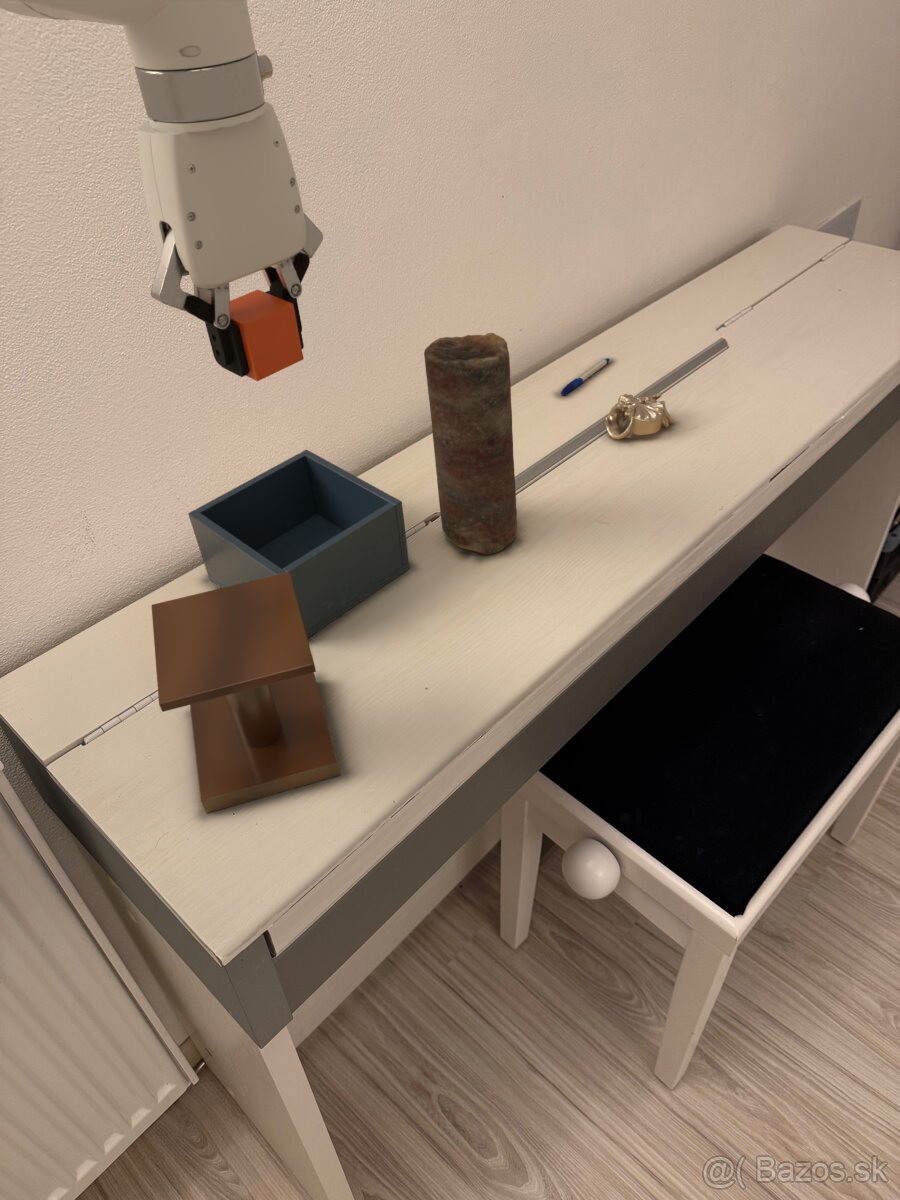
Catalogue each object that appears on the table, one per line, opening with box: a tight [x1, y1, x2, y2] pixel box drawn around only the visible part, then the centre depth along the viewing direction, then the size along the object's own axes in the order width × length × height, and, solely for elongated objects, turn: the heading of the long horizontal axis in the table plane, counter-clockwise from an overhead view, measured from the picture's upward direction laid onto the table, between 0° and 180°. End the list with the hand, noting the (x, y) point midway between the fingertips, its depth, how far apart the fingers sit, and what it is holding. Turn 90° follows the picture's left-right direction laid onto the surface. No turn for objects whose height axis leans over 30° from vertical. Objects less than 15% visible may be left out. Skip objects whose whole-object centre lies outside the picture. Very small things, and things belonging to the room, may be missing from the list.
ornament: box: [604, 392, 675, 440], centre depth 96 cm, size 8×7×4 cm
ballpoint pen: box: [560, 358, 610, 397], centre depth 106 cm, size 10×1×1 cm, turn 142°
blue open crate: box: [187, 449, 411, 639], centre depth 79 cm, size 14×14×8 cm
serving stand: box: [151, 572, 341, 814], centre depth 63 cm, size 10×10×12 cm
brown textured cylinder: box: [423, 332, 518, 555], centre depth 78 cm, size 8×7×20 cm
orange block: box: [230, 289, 304, 382], centre depth 66 cm, size 4×4×4 cm
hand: (262, 355), depth 67 cm, fingers closed on orange block, 4 cm apart
